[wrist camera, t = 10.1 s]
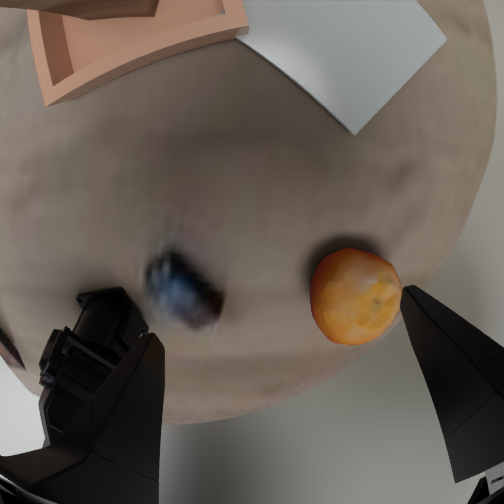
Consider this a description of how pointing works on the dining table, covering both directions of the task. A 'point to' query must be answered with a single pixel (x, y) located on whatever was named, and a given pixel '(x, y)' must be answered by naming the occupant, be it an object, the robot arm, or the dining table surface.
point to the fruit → (354, 296)
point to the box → (123, 42)
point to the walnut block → (89, 7)
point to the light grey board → (343, 49)
